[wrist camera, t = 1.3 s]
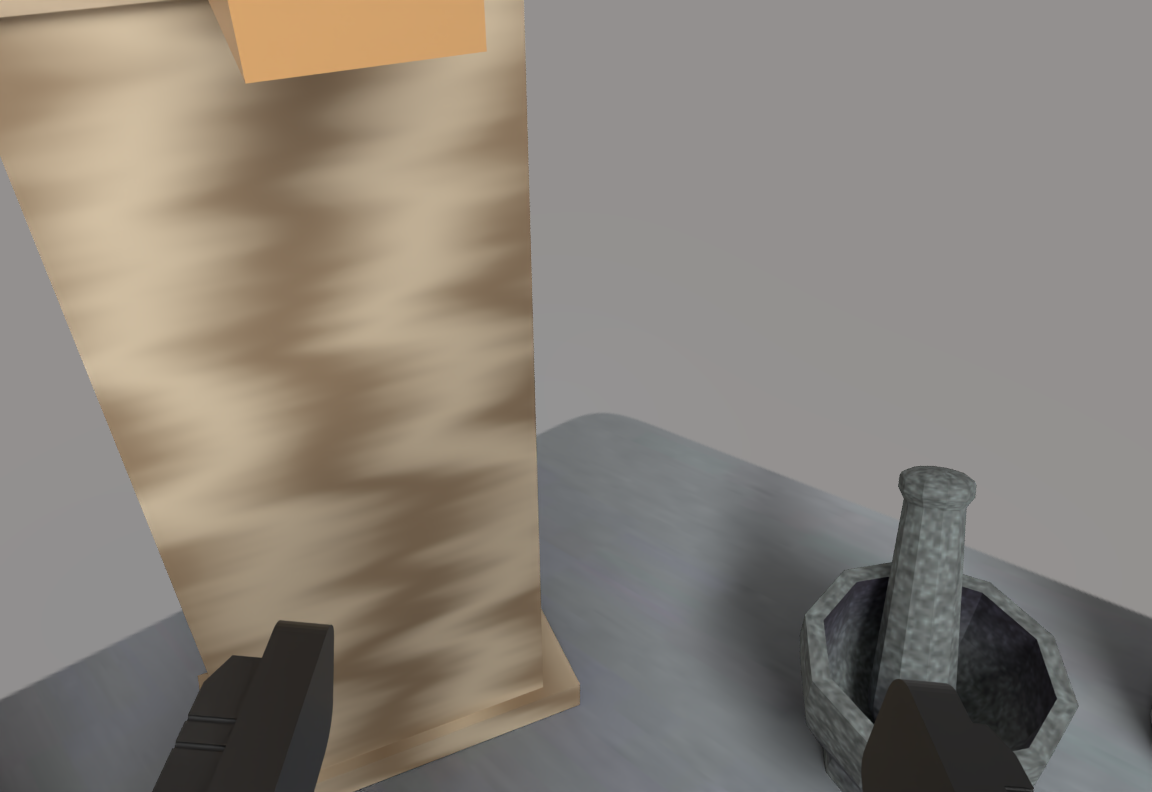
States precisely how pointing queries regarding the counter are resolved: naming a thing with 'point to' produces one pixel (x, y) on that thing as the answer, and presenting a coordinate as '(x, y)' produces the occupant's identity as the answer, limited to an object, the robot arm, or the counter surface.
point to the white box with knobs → (345, 33)
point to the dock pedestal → (308, 349)
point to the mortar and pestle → (929, 639)
